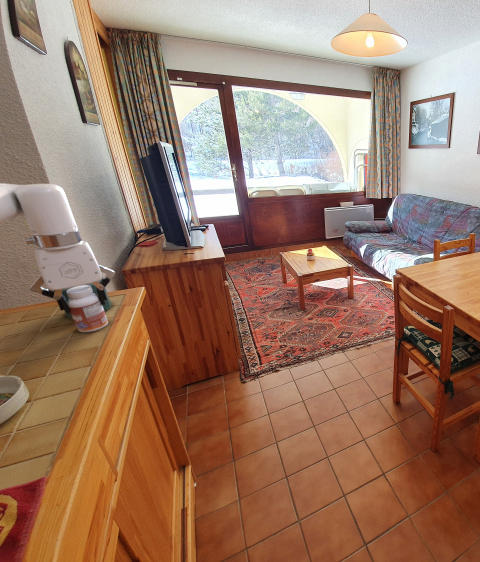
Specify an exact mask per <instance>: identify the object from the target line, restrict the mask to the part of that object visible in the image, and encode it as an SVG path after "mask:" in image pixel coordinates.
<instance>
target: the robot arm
mask: <svg viewBox="0 0 480 562" xmlns="http://www.w3.org/2000/svg"><path fill="white" fill-rule="evenodd" d="M20 217H25V219H26V222H27V223H28V226H29V228H30V230H31V233H32V235H31V236H30V237H26V238H25V239H24V240H25V242H26V244H27V245H35V246H37V247H35V248H34V256H35V261H36V264H37V267H38V270H39V273H40V275H39V276H38V277H37V278H36V280H35V281H34V282H33V283H32V284H31V285H30V287H29V291H31V292H34V293H37V294H40V295H42V296H44V297H48V298H49V299H53V300H55V301H56V303H57V305H58V307H59V309H60V311H64V310H65V311H64V313H65V312H66V314H69V313H70V310H69V308H68V305H67V301H66V299H65V297H64V296H63V295H62V294H61V293H62V289H66V288H71V287H76V286H81V285H86V284H91V283H92V284H93V285H95V286H96V287H97V289H96V290H97V293H98V296H99V298H100V301H101V304H102V305H106V304H105V302H104V300H107V297H106V294H105V291H104V289H105V288H107V286H108V285H109V283H110V282H111V280H112V279H113V278H114V277H115V275H116V272H115V270H113V269H110V268H108V267H106V266H104V265H101V264H99V263H98V261H97V259H96V256H95V254H94V252H93V250H92V248H91V246H90V244H89V243H88V242H87V241H86V240H82V236H81V234H80V231H79V228H78V225H77V223H76V220H75V218H74V215H73V211H72V209H71V207H70V204H69V201H68V198H67V196H66V193H65V191H64V189H63V188H62V187H61V186H60V185H58V184H55V183H32V184H16V183H15V184H14V183H3V182H1V183H0V224H1V223H4V222H7V221H10V220H14V219H17V218H20ZM102 273H103V274H106V275H105V276H103V274H102ZM102 277H103V279H102ZM101 279H102V281H100V280H101ZM42 285H45V287H46V288H44V287H42ZM66 314H65V315H66Z"/></svg>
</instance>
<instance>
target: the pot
mask: <svg viewBox="0 0 480 562" xmlns="http://www.w3.org/2000/svg"><path fill="white" fill-rule="evenodd" d="M91 288H92V290H93V293H94V294H97V295H98V293H97V290H96V289H97V287H96V286H93V287H91ZM104 291H105V294H106V297H107V300H104V302H105V304H106V305H102V306H103V309H104V312H105V313H106V312H107V311H108V310H110V309H111V308H112V302H111V299H110V297H109V294H108V291H107V287H105V289H104ZM61 294H62V295H63V296H64V297H65V299H66V301H68V299H70V298H69V297H68V295H67V292H62V293H61ZM63 311H64V313H65V315H66V317H67V318H68V319H70V320H73V318H72V315H71V313H69V314H66V312H65V310H63Z"/></svg>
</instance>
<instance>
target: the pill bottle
mask: <svg viewBox="0 0 480 562" xmlns="http://www.w3.org/2000/svg"><path fill="white" fill-rule="evenodd" d="M66 292H67V295H68V297H69V298H70V299H68V301H67V305H68V308H69V310H70V313H71V315H72V318H73V319H72V321H73V322H74V324H75V327H76V329H77V331H78V332H80V333H93V332H96V331H99V330H101V329H103V328H105V327H106V326H107V325H108V324H109V320H108V317H107V315H106V311H105V312H104V309H103V306H102V304H101V301H100V298H99V296H98V295H97V294H94V293H93V290H92V288H91V286H89V285H82V286H77V287H73V288H70V289H68V290H67V291H66Z"/></svg>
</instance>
